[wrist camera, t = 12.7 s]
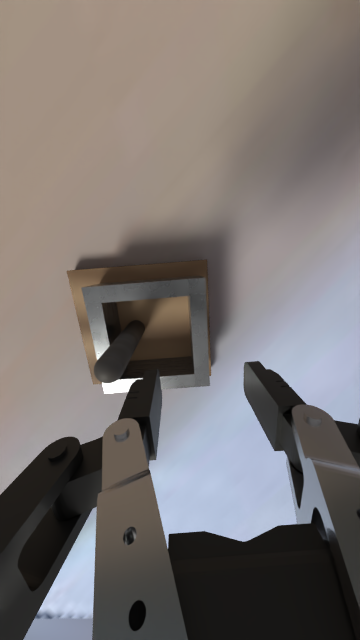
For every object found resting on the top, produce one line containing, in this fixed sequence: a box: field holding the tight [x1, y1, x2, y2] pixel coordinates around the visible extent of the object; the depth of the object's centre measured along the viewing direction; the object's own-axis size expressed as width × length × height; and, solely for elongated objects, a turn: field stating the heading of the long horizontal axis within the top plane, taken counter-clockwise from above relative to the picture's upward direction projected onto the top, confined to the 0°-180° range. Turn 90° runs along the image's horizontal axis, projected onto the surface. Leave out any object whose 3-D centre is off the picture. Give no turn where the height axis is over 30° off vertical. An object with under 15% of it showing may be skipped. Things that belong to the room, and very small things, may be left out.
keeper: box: [67, 260, 211, 384], centre depth 18 cm, size 14×15×12 cm
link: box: [81, 276, 210, 393], centre depth 20 cm, size 11×11×4 cm
